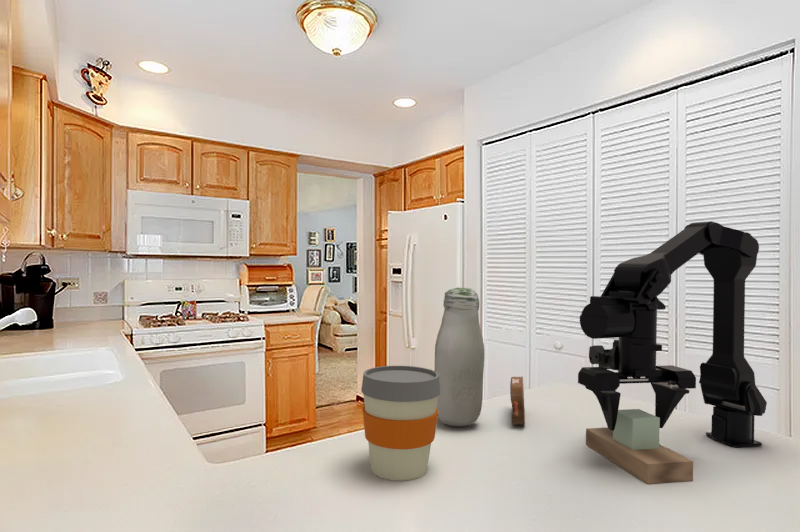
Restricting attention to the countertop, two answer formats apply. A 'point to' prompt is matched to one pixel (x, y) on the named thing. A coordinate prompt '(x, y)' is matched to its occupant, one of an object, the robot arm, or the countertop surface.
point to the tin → (517, 401)
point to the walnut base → (641, 459)
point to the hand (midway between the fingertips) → (635, 428)
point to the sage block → (637, 429)
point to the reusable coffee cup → (400, 419)
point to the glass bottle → (460, 359)
